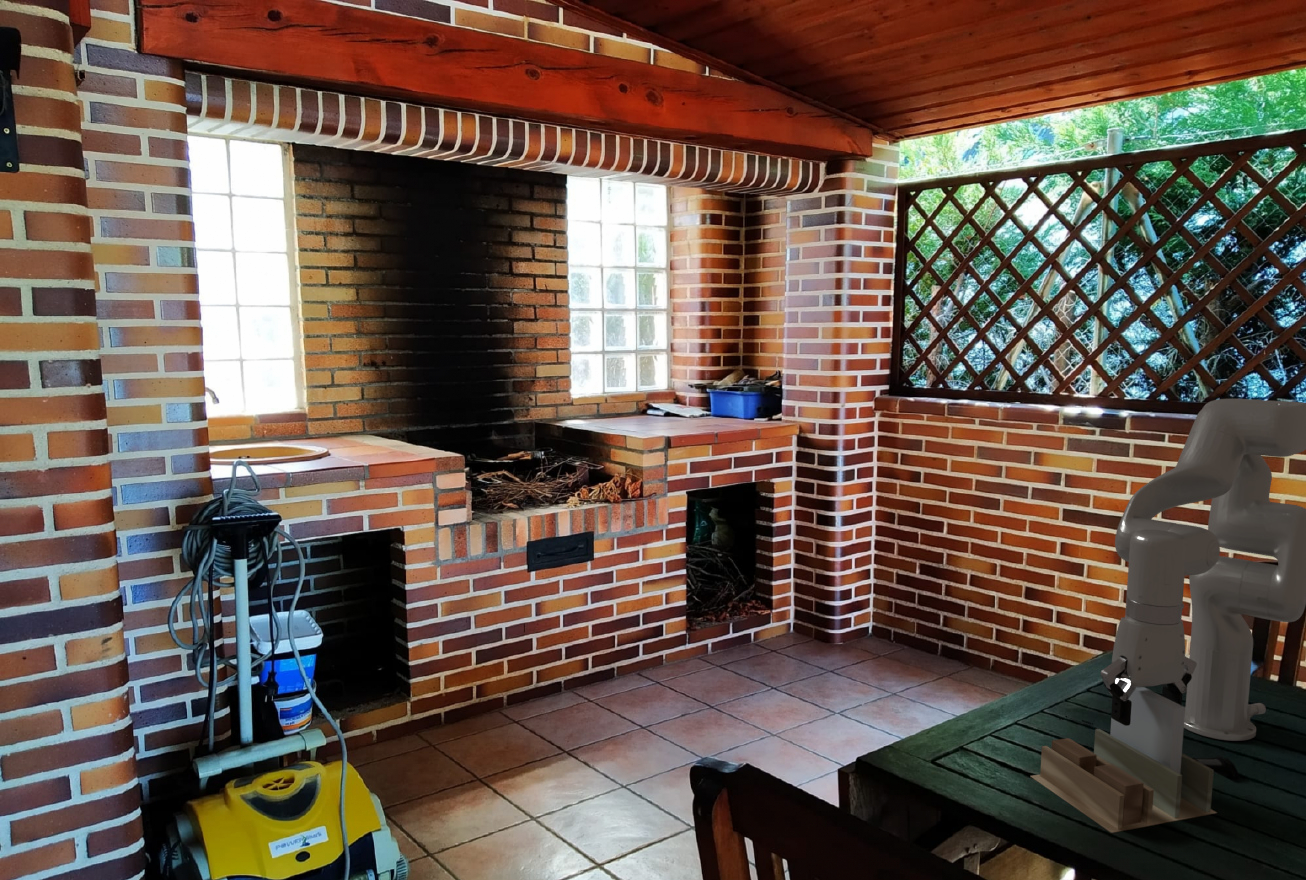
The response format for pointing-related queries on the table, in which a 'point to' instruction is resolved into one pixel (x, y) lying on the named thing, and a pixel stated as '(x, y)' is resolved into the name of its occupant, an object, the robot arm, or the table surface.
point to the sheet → (1153, 727)
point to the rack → (1162, 786)
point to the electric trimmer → (1220, 766)
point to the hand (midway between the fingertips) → (1145, 718)
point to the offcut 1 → (1075, 754)
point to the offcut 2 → (1124, 790)
